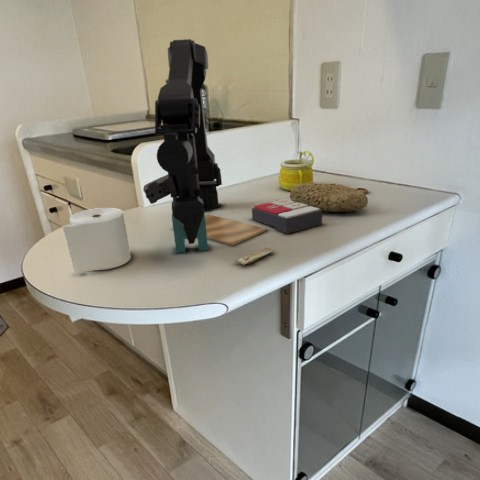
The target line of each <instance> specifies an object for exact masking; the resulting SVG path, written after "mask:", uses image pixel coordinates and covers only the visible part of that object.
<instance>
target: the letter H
mask: <svg viewBox="0 0 480 480" xmlns="http://www.w3.org/2000/svg"><path fill="white" fill-rule="evenodd" d="M205 216H206V214H205V212H204V216H203V218H202V221H201V224H200V227H199V230H198V233H197V236H196V239H197V246H198V247H197V248H198V251H199V252H200V251H201V252H203V251H208V250H209V246H208V244H209V243H208V238H207V233H206V222H205ZM171 222H172V228H173V238H174V245H175V252H176V254H182V253H186V244H185V240H188V239H187V236H186V233H185V230H184V227H183V226H182V222H180V221H179V220H177V219H175V218H174V217H173V214H172V213H171Z"/></svg>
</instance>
